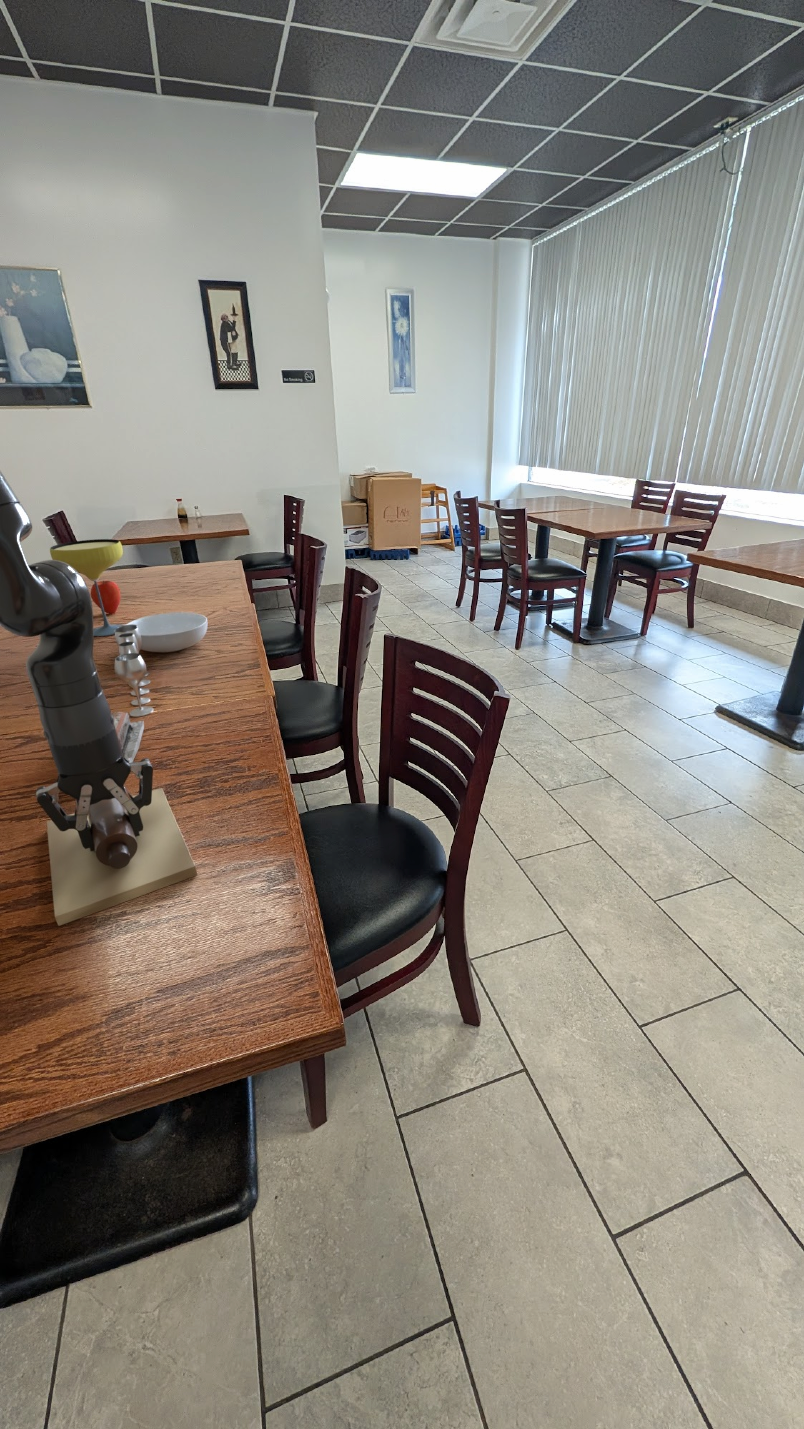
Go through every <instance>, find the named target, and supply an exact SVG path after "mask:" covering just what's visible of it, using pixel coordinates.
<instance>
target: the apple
mask: <svg viewBox="0 0 804 1429" xmlns="http://www.w3.org/2000/svg"><path fill="white" fill-rule="evenodd" d="M97 585H98V589H99V593H100V597H101V601H102V604H103V608H104V611H105V614H116V612H117V611H118V608H119V606H120V602H121V590H120V587H119V586H118V584H116V583H115V581H114V582H113V581H112V580H102V581H97ZM90 596H91V601H92V602H93V603H94V604H95V605H96V606H97V607H98V608H100V609H101V606H100V602H99V598H98V595H97V591H96V587H95V583H94V582H93V584H92V586H91V589H90Z"/></svg>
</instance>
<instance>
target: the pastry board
mask: <svg viewBox="0 0 804 1429" xmlns="http://www.w3.org/2000/svg"><path fill="white" fill-rule="evenodd" d="M137 795H138V794H136V795H135V794H134V795H132V796H133V798H134V797H135V796H137ZM139 813H140V817H141V820H142V824H143V831H139V834H140V836H137V837H135V838H136V841H137V846H138V847H137V851H136V853H135V855H134V856H133V858H132V859H131V860H130V862H129V864H128V865H127V866H125V867H124V868H121V869H115V868H112V867H111V866H108V865H104V864H102V863H101V862H100V861H99V860H98V859H97V857H96V852H95V850H94V851H90V848H87V849H85V848H84V847H83V846H82V843H81V840H80V837H79V834H78V831H77V830H75V829H68V830H67V831H60V830H59V829H58V828H57V826H56V825H55V824H54V822H53V821H52V820H51V819H50V820H47V821H46V831H47V843H48V844H47V845H48V857H49V866H50V868H49V869H50V878H51V879H50V880H51V887H52V888H51V890H52V900H53V901H52V902H53V914H54V918H55V922H56V925H57V926H58V927H60V926H64V925H65V924H69V923H71V922H74V921H76V920H79V919H82V918H84V917H87V916H90V915H93V914H96V913H98V912H101V911H104V910H107V909H109V908H112V907H114V906H117V905H120V904H122V903H125V902H128V901H131V900H133V899H136V898H139V897H141V896H145V895H147V894H150V893H152V892H155V891H158V890H161V889H163V888H166V887H168V886H172V885H174V884H177V883H180V882H183V881H185V880H188V879H191V878H193V877H196V876H198V871H197V867H196V863H195V861H194V859H193V857H192V854H191V852H190V850H189V847H188V845H187V843H186V840H185V838H184V836H183V834H182V831H181V829H180V827H179V824H178V823H177V820H176V817H175V815H174V813H173V810H172V808H171V806H170V804H169V802H168V799H167V797H166V794H165V792H164V790H163V788H162V787H159V788H156V789H155V788H154V789H152V801H151V804H150V805H148V806H143V807H142V808H141V809H140V811H139ZM74 814H75V812H74V813H70V814H69V815H74ZM87 820H88V822H89V819H88V816H87ZM89 826H90V824H89ZM90 829H91V828H90Z"/></svg>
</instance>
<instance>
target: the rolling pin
mask: <svg viewBox="0 0 804 1429" xmlns="http://www.w3.org/2000/svg"><path fill="white" fill-rule="evenodd" d="M88 819H89V824H90V828H91V833H92V838H93V843H94V848H95V852H96V857H97V859H98V860H99V861H100V862H101V863H102V864H104V865H108V866H111V867H112V868H115V869H121V868H124V867H125V866H127V865H128V864H129V862H130V860H131V859H132V858H133V856H134V855H135V853H136V851H137V847H138V846H137V841H136V838H135V835H134V832H133V829H132V825H131V823H130V820H129V817H128V813H127V810H126V808H125V807H124V806H123V805H121V804H120V803H119V801H118V800H117V799H116V798H113V799H109V800H101V801H100V802H98V803H96V804H92V805H90V806H89V813H88Z"/></svg>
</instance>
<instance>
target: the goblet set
mask: <svg viewBox="0 0 804 1429" xmlns="http://www.w3.org/2000/svg"><path fill="white" fill-rule="evenodd" d="M122 625H123V626H120V627H118V628H117V629H115V635H114V638H115V639H114V640H115V642H116V645H117V647H118V654H119V655H118V656H116V657H114V658H115V659H114V673H115V676H116V677H117V678H118V679H119V680H120V681H122V682H123V683H125V684H127V685H128V686H129V687H131V689H132V691H131V692H130V695H131V696H134V697H136V698H135V699H133V700H132V701H131V702H130V704H131V705H132V706H138V707H136V708H134V709H132V710H130V711H129V713H128V714H129V717H134V718H135V717H136V718H140V717H144V716H145V717H146V716H147V715H148V716H149V715H150V714H152V713H153V712H154V708H153V707H152V706H142V705H146V704H148V703H149V702H151V698H149V697H142V696H143V695H146V694H148V693H149V692H150V689H149V688H147V687H145V686H148V685H149V684H150V683H151V680H150V679H148V678H146V677H147V676H149V674H150V672H148V671H147V665H146V662H145V660H144V658H143V657H142V655H141V654H140V651H141V649H140V648H141V635H140V632H139V629H138V626H137V625H134V624H130V625H126V624H122ZM141 687H143V688H141Z"/></svg>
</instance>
